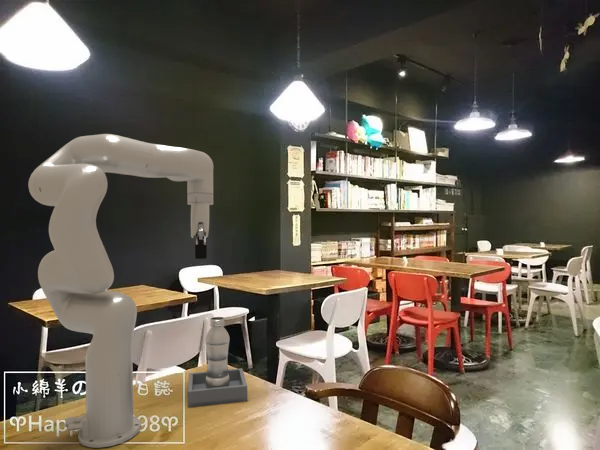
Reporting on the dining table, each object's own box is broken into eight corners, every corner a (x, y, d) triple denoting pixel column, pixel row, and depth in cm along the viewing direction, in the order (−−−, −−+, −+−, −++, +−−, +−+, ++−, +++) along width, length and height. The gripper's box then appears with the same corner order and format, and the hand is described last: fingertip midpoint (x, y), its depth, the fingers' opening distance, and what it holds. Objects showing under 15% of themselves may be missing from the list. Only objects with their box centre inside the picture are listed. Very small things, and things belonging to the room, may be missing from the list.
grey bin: (188, 407, 104) (187, 391, 104) (189, 387, 116) (189, 373, 116) (247, 401, 107) (247, 385, 107) (242, 381, 120) (242, 368, 120)
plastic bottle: (221, 385, 115) (220, 314, 115) (234, 392, 110) (234, 318, 110) (200, 392, 111) (200, 318, 110) (214, 400, 106) (213, 322, 105)
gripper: (188, 201, 130) (188, 254, 130) (186, 198, 113) (187, 260, 114) (212, 201, 132) (212, 254, 132) (214, 198, 115) (214, 259, 115)
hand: (200, 257), depth 123 cm, fingers open, 9 cm apart
